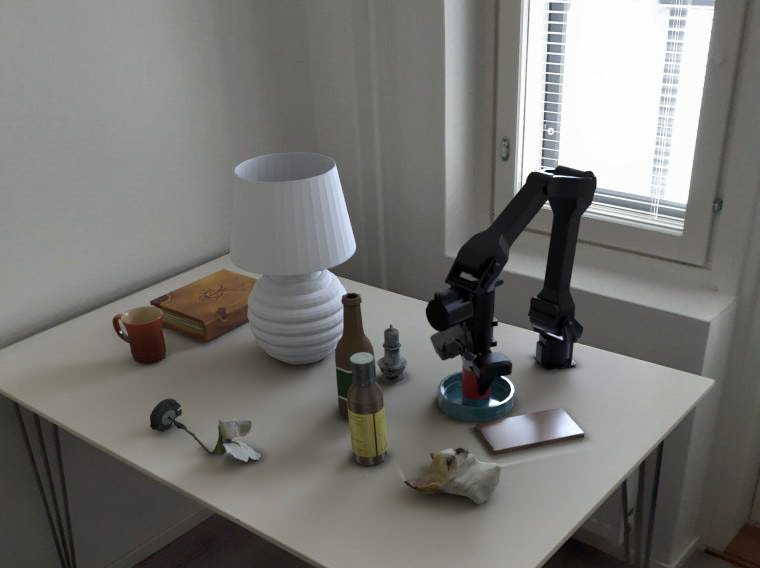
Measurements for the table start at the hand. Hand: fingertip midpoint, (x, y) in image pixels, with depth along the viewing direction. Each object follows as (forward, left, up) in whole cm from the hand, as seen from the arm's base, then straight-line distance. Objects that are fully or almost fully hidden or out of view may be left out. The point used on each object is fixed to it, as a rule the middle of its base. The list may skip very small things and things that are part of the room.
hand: (475, 387), depth 162 cm
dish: (0, 0, -3) cm, 3 cm away
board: (-5, +13, -3) cm, 14 cm away
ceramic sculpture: (+13, +25, -4) cm, 28 cm away
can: (0, 0, -3) cm, 3 cm away
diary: (+42, -56, -4) cm, 70 cm away
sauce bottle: (+24, +11, -4) cm, 26 cm away
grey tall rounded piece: (+12, -14, -4) cm, 19 cm away
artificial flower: (+50, -2, -4) cm, 50 cm away
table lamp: (+27, -31, -4) cm, 42 cm away
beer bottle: (+22, -4, -4) cm, 23 cm away
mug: (+60, -41, -4) cm, 73 cm away
